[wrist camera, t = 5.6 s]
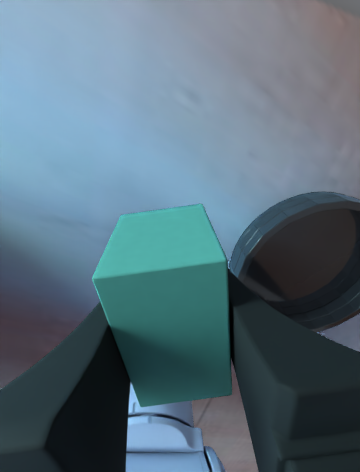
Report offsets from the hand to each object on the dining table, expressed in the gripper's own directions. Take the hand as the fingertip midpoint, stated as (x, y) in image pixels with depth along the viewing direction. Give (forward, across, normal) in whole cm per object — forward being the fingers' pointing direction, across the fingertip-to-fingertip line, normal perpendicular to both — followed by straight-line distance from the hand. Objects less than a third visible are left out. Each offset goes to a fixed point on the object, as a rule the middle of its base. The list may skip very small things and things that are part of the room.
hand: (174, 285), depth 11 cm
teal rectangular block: (+1, 0, 0) cm, 1 cm away
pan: (+8, -11, +6) cm, 15 cm away
